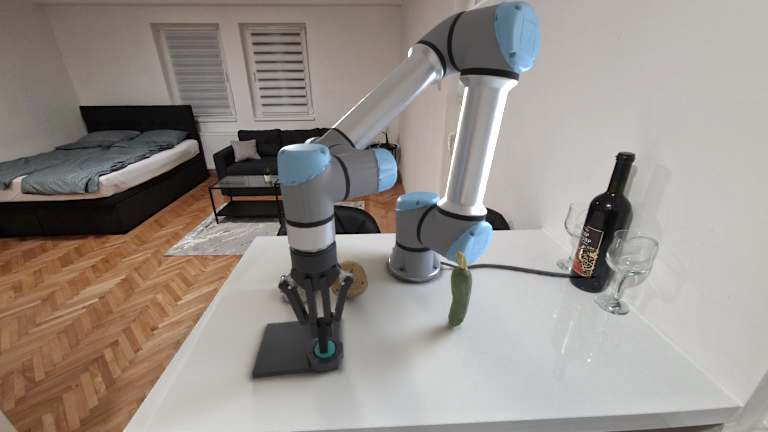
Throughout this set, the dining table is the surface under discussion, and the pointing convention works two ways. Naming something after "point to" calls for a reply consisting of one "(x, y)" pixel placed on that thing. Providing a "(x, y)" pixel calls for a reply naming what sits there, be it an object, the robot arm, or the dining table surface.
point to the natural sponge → (358, 279)
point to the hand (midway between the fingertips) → (324, 347)
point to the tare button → (325, 355)
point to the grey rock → (300, 291)
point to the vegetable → (460, 291)
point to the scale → (293, 350)
